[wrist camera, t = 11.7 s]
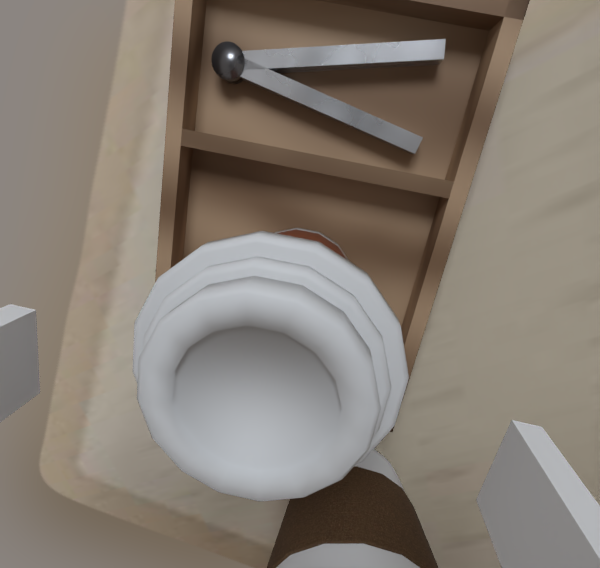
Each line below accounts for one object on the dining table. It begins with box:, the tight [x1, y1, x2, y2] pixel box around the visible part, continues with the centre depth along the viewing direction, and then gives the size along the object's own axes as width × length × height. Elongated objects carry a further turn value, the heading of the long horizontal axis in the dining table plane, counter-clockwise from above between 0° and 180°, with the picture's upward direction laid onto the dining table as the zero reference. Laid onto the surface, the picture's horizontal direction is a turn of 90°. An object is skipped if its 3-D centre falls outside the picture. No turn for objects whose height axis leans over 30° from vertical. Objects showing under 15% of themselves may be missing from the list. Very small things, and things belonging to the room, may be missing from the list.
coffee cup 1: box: [133, 228, 409, 501], centre depth 16 cm, size 9×9×12 cm
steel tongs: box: [211, 39, 446, 154], centre depth 18 cm, size 11×5×1 cm, turn 79°
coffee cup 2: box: [267, 449, 438, 568], centre depth 21 cm, size 11×11×12 cm
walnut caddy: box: [155, 0, 530, 432], centre depth 20 cm, size 22×15×2 cm
